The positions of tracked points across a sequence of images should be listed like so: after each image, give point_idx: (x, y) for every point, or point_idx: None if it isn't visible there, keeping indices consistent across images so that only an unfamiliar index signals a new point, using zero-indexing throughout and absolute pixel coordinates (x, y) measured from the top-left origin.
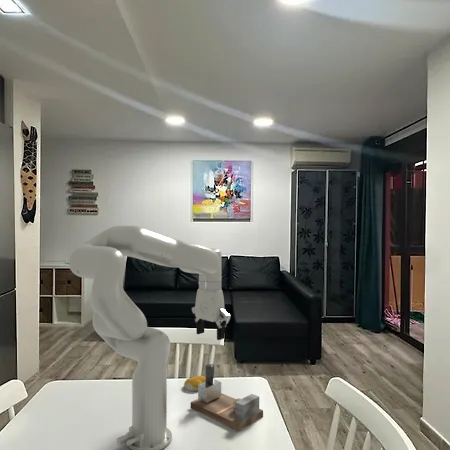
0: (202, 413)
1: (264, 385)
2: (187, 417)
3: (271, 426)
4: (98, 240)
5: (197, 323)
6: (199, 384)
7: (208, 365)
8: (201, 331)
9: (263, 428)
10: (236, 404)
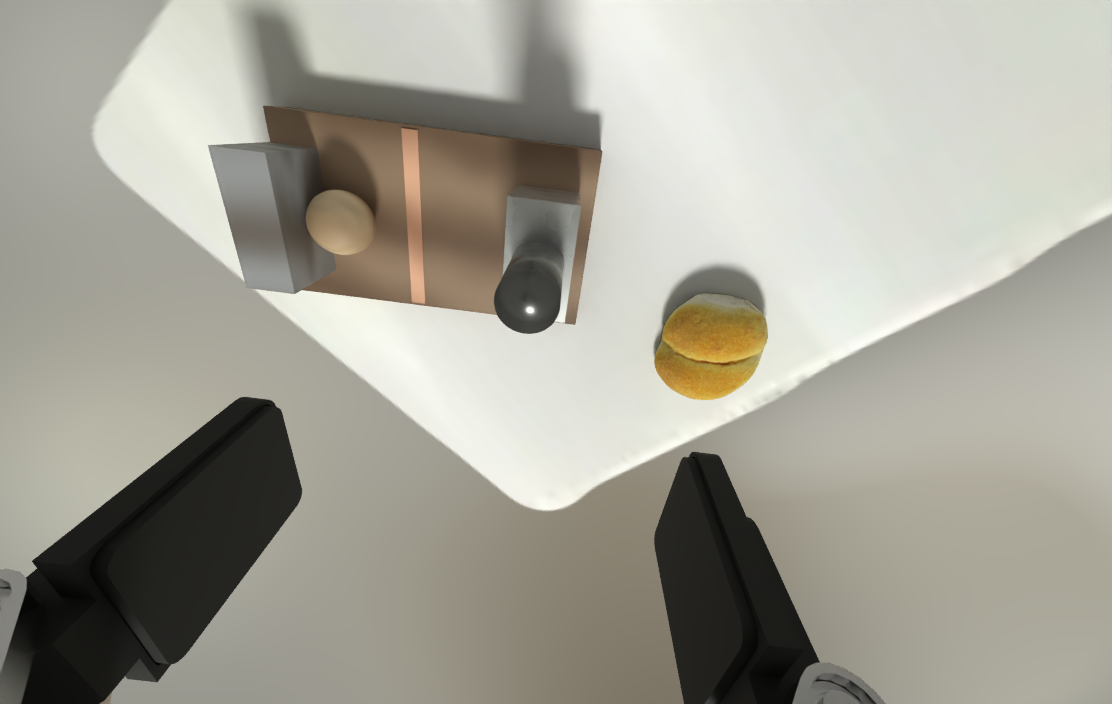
0: (515, 138)
1: (485, 476)
2: (550, 53)
3: None
4: None
5: (761, 629)
6: (577, 214)
7: (538, 301)
8: (672, 522)
9: None
10: (263, 151)
